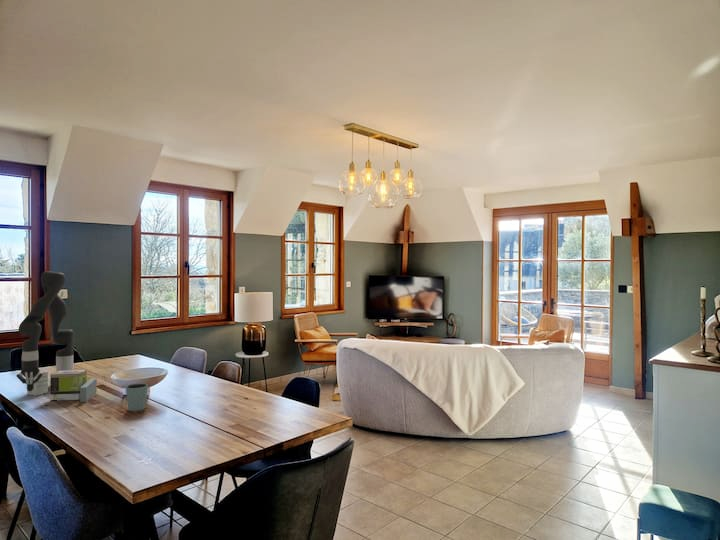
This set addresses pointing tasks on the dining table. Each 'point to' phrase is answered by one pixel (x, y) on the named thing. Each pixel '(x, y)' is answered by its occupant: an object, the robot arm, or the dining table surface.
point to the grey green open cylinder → (136, 396)
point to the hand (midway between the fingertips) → (30, 390)
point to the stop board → (88, 390)
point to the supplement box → (40, 385)
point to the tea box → (67, 384)
